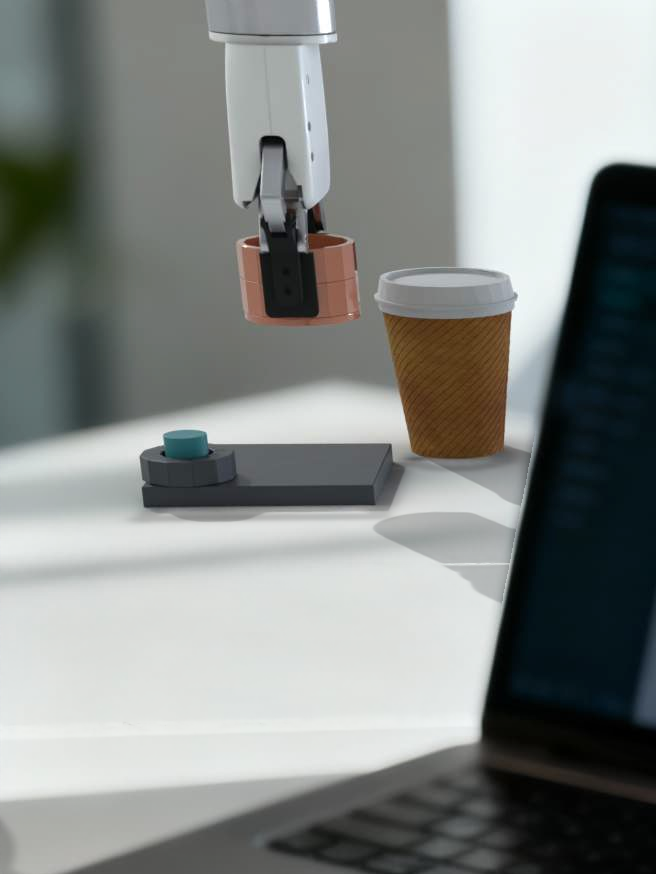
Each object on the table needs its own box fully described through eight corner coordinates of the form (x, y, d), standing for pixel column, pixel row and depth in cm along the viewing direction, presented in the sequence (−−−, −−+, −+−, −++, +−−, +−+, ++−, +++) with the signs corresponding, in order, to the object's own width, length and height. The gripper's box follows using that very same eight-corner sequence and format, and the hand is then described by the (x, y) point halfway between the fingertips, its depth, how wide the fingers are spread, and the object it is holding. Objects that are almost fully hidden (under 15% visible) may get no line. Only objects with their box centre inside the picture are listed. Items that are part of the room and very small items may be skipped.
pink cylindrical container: (237, 326, 150) (228, 249, 148) (254, 306, 157) (245, 232, 155) (354, 326, 152) (347, 250, 150) (366, 307, 158) (359, 233, 156)
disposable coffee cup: (541, 460, 166) (530, 285, 161) (400, 469, 162) (385, 290, 157) (511, 431, 173) (500, 263, 169) (376, 439, 169) (361, 268, 165)
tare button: (162, 462, 150) (159, 438, 149) (169, 453, 152) (166, 429, 152) (205, 462, 150) (203, 438, 150) (212, 453, 153) (209, 429, 152)
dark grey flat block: (138, 509, 149) (132, 462, 148) (173, 464, 160) (168, 420, 159) (375, 507, 152) (370, 461, 151) (393, 463, 163) (389, 419, 162)
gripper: (229, 5, 154) (260, 283, 161) (182, 24, 138) (218, 330, 145) (350, 8, 156) (375, 283, 162) (317, 27, 140) (346, 330, 147)
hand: (301, 303), depth 154 cm, fingers closed on pink cylindrical container, 7 cm apart
